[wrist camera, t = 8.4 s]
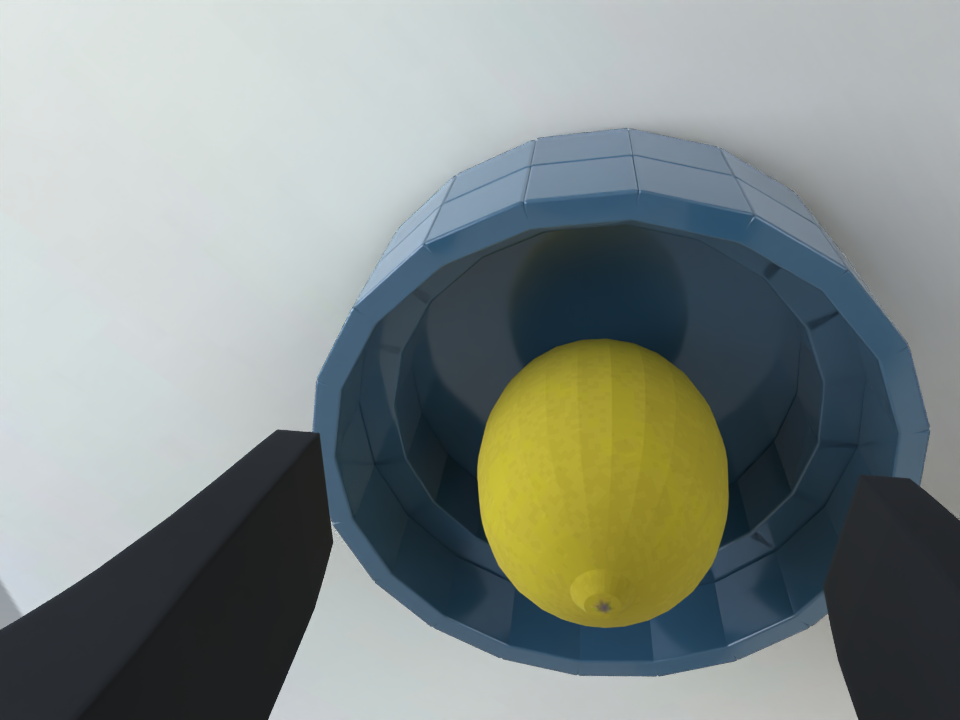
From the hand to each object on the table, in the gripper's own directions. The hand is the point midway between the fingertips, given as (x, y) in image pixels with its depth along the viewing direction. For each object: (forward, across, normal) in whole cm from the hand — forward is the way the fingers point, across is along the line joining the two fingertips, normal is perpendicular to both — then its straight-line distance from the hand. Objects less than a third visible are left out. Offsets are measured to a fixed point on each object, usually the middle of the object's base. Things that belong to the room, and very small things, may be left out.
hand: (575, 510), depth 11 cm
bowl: (+10, -1, +4) cm, 11 cm away
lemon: (+10, -1, +4) cm, 11 cm away
